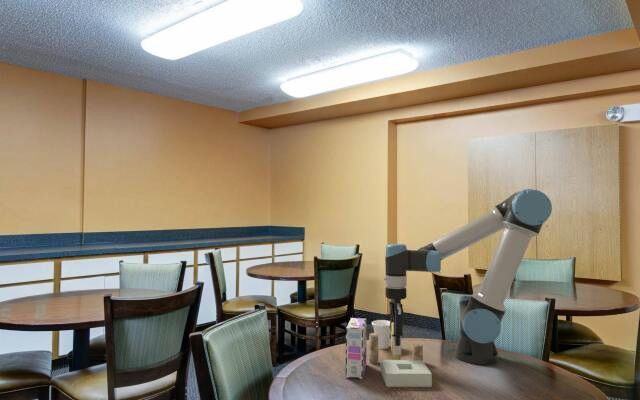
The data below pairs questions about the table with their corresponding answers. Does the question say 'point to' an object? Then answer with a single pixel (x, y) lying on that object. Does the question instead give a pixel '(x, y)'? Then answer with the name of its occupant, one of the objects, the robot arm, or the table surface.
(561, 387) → the table surface
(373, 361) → the pin medium
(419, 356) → the pin short
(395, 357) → the pin long
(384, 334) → the cup
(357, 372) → the candy box
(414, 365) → the socket block
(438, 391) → the table surface
